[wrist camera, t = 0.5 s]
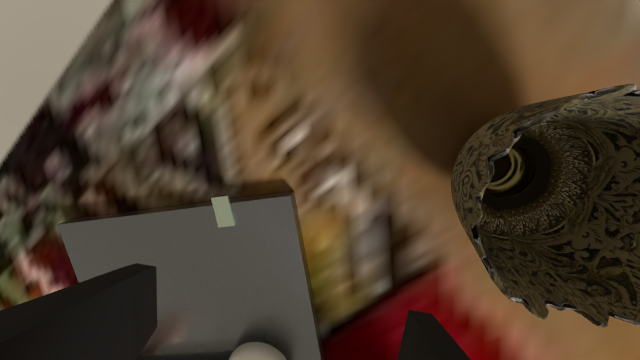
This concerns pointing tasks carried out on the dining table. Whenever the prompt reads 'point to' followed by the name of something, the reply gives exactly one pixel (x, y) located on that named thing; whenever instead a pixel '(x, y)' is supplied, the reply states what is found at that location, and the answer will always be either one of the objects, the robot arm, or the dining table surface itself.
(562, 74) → the dining table surface
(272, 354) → the lever
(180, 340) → the lock base
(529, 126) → the cup
